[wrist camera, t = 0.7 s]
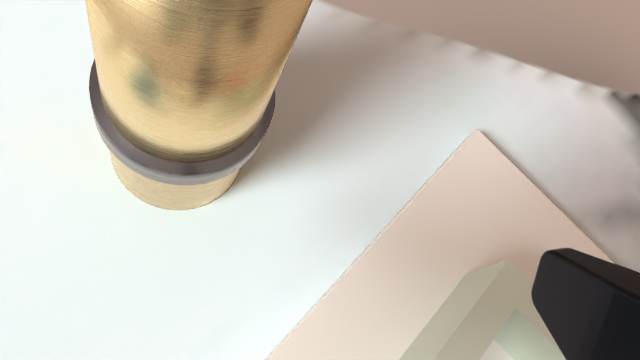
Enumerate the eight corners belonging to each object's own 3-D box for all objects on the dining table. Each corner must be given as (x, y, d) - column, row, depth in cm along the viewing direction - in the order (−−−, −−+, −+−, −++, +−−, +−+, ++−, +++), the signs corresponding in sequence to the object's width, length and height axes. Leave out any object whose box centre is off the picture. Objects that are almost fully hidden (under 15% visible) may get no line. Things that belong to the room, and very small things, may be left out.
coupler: (278, 154, 24) (408, -74, 12) (173, 248, 21) (206, 80, 9) (182, 58, 24) (216, -260, 12) (68, 141, 21) (-29, -155, 10)
